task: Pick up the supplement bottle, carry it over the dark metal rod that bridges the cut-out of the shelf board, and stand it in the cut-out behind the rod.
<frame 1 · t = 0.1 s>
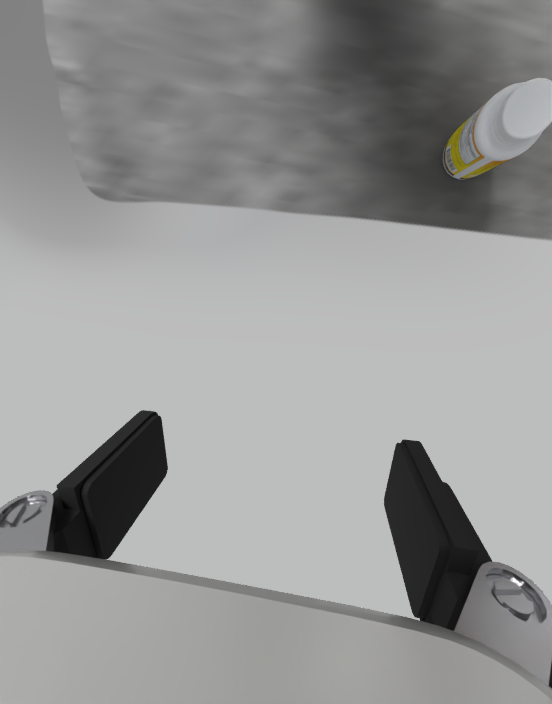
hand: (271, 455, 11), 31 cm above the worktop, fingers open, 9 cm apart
supplement bottle: (465, 153, 32), on the worktop
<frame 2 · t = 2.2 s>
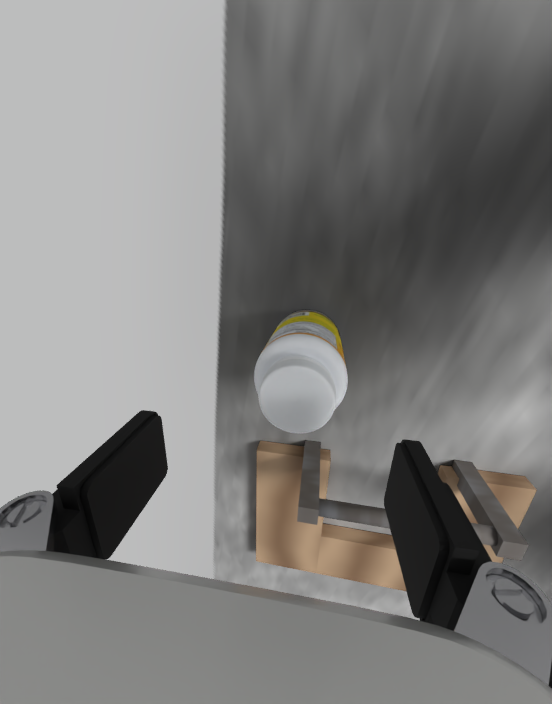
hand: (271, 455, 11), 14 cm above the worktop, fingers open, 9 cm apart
shelf board: (370, 517, 29), on the worktop
supplement bottle: (307, 339, 24), on the worktop
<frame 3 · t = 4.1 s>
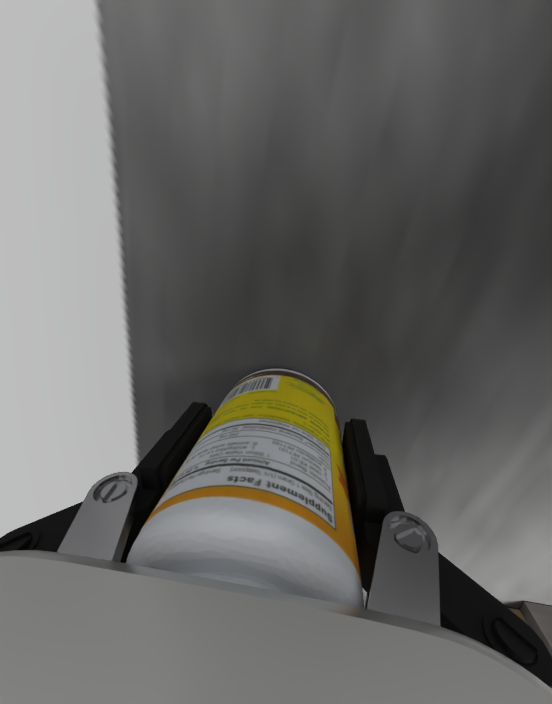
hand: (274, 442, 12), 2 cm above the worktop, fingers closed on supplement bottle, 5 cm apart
shelf board: (385, 664, 19), on the worktop
supplement bottle: (281, 413, 14), on the worktop, touching gripper
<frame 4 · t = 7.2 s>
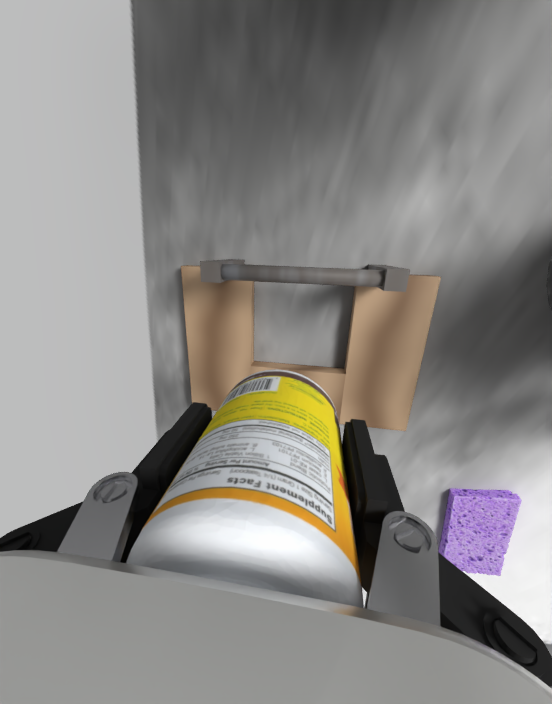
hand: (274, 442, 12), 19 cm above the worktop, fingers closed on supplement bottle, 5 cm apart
shelf board: (299, 347, 30), on the worktop
sponges: (470, 523, 35), on the worktop
supplement bottle: (281, 414, 14), point 16 cm above the worktop, touching gripper
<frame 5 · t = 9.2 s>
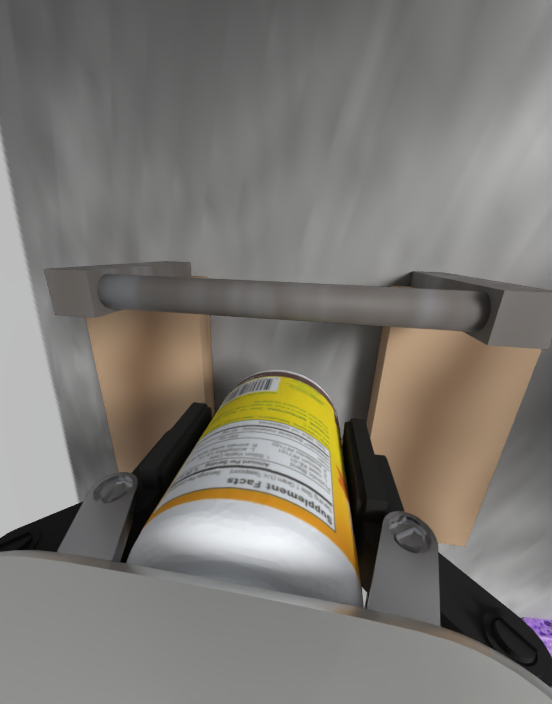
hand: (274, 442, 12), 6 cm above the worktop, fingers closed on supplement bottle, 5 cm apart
shelf board: (288, 407, 18), on the worktop
sponges: (547, 657, 23), on the worktop
supplement bottle: (281, 414, 14), point 4 cm above the worktop, touching gripper
when the fingers open (4 cm above the worktop, at t = 10.6 s): supplement bottle drops 2 cm, on the worktop.
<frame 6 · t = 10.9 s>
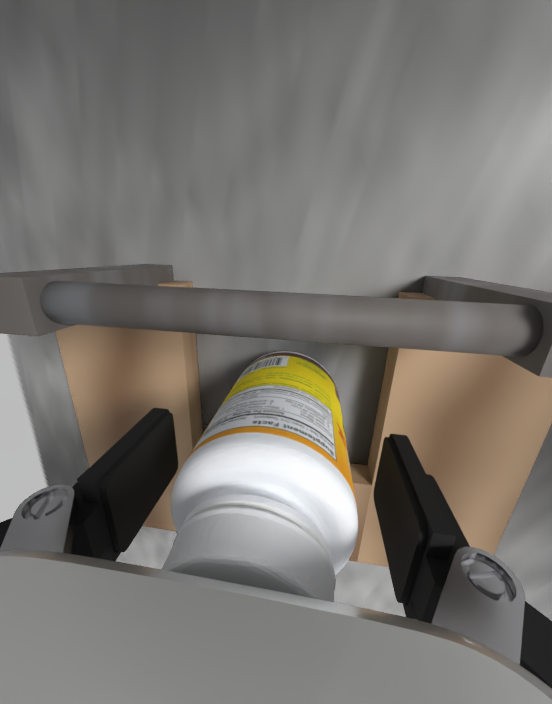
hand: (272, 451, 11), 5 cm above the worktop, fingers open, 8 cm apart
shelf board: (283, 426, 16), on the worktop
supplement bottle: (288, 392, 15), on the worktop
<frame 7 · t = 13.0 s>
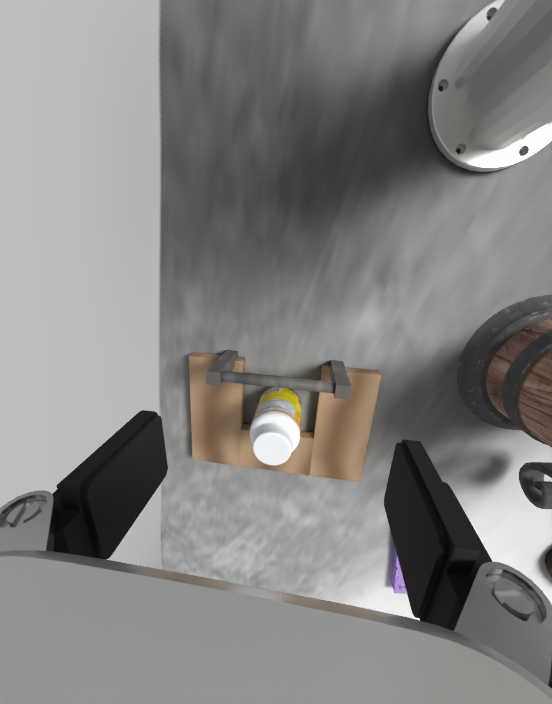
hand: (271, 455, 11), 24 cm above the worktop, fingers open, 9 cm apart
shelf board: (279, 415, 38), on the worktop
sponges: (415, 552, 43), on the worktop
supplement bottle: (281, 401, 38), on the worktop
tankard: (528, 392, 33), on the worktop
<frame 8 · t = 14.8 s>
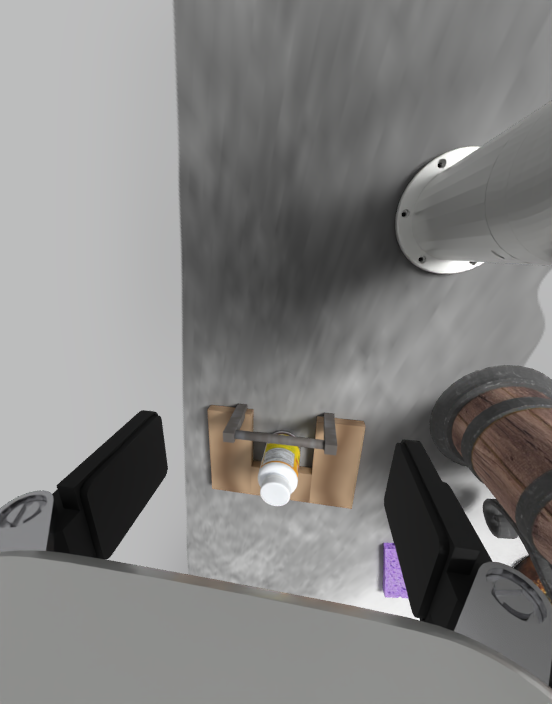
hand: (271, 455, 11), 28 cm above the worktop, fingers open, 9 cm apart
shelf board: (282, 454, 46), on the worktop
sponges: (402, 563, 51), on the worktop
supplement bottle: (284, 443, 45), on the worktop
bread roll: (548, 570, 47), on the worktop
tankard: (490, 439, 40), on the worktop
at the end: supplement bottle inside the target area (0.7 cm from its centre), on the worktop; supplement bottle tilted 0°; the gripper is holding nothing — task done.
